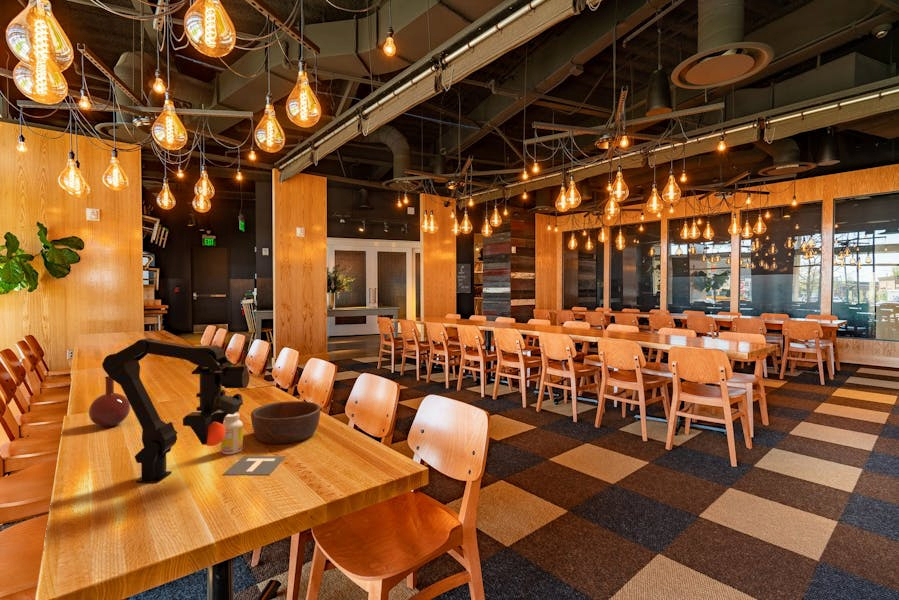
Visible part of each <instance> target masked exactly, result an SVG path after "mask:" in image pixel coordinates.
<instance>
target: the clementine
mask: <svg viewBox="0 0 899 600" xmlns="http://www.w3.org/2000/svg"><path fill="white" fill-rule="evenodd" d="M225 433H226V431H225V428H224V426H223V425H222V424H221V423H219V422H213V423H212V424H211V425H210V426H209V429H208V438H207V444H206V445H205V446H206V447H207V446H208V447H214V446H217V445H219V444H220V443H221V441H222V440H223V439H224V437H225Z"/></svg>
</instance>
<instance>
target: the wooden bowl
mask: <svg viewBox="0 0 899 600" xmlns="http://www.w3.org/2000/svg"><path fill="white" fill-rule="evenodd" d="M321 410H322V409H321V406H320V405H319V404H318V403H315V402H311V401H310V402H309V401H305V400H303V401H301V400H300V401H299V400H293V401H291V400H289V401H279V402H278V401H277V402H273V403H268V404H265V405H261V406H258V407H257V408H255V409H253V410H252V411H251V412H250V420H251V425H252V430H253V433H254V435H255V437H256V439H257V440H259V441H260V442H262V443H263V444H268V445H269V444H270V445H287V444H293V443H295V444H296V443H299V442H301V441H304V440H307V439H309V438H311V437H312V436H313V435H314V434H315V432H316V431H317V429H318V425H319V423H320V417H321V412H322V411H321ZM310 436H311V437H310Z"/></svg>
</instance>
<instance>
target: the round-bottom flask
mask: <svg viewBox="0 0 899 600" xmlns="http://www.w3.org/2000/svg"><path fill="white" fill-rule="evenodd" d="M104 379H105V394H102V395H99V396H98V397H96V398H95V399H94V400H93V401H92V402H91V404H90V406H89V409H88V417H89V419H90V420H91V422H92V423H93V424H95V425H97V426H100V427H103V428H104V427H106V428H107V427H109V428H110V427H113V426H117V425H119V424H121V423H122V422H123V421H124V420H126V419H127V417H128V416H129V414H130V411H131V405H130V403H129V401H128V399H127V397H126V395H125V396H124V395H123V394H121V393H118V392H115V387H114V386H115V381H114V380H112V379H111V378H110V377H109V376H108V375H106V376H104Z"/></svg>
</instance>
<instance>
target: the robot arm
mask: <svg viewBox="0 0 899 600" xmlns="http://www.w3.org/2000/svg"><path fill="white" fill-rule="evenodd" d="M149 354H150V355H154V356H155V355H156V356H162V357H168V358H174V359H179V360H185V361H188V362H190V364H193V365H196V368H195V369H194V370H192V371H191V375H199V392H197V393H196V395H195V396H196V398H199V406H197V407H196V411H192V412H191V413H188V414H186V415H185V416H184V417H183V418H182V426H184V427H190V429H192V431H193V432H194V434H195V435H196V437H197V439H198V440H199V442H200V443H201V445H202V446H203V445H204V446H207V445H206V444H207V438H208V429H209V426H210V425H211V424H212V423H213V422H219V423H221V424H222V425H223V423H224V422H225V417H226V416H227V415H228V414H235V413H239V411H240V409H241V406H242V405H243V404H244V400H243V395H242V394H241V393H236V394H234V395H226V391H225V389H247V387H248V386H249V383H250V377H251V376H250V374H249V370H248V369H247V365H246V364H241V365H233V363H232V362H231V361H230V360H229V358H227V357H226V355H225V352H224V350H223V349H222V347H221V346H219V345H218V344H217V345H215V344H213V345H212V344H211V345H207V344H205V345H204V344H203V345H188V344H181V343H178V342H177V343H176V342H171V341H166V340H165V341H164V340H159V339H153V338H152V337H147V338H143V339H139V340H137V341H135V342H133V344H131V345H129V346H127V347H125V348H124V349H121V350H119V351H118V352H116V353H112V354H109V355H106V357H104V359H103V362H102V364H101V366H102V369H103V371H104V372H105V373H106V374H107V376H109V377H110V378H111V379H112V380H114V383H115V382H116V383H117V384H118V385H119V386H120V387H121V389H122V391H123V394H124V395H125V397H126V398H127V399H128V401H129V403H130V408H131V409H132V411H133V413H134V414H135V417H136V418H137V421H138V423H139V425H140V426H141V431H142V432H141V442H142V445H143V448H142V449H141V450H140V451H138V453H136V454H135V456H134V459H135V462H136V463H137V464H140V465H141V468H140V471H141V473H140V474H141V475H140V476H141V477H139V478H138V479H136V480H135V483H159V482H161V481H162V480H164V479H165V478H166V477H168V476H170V475H171V474H172V471H171V470H170V471H169V470H168V471H167V454H168V453H170V452H171V451H172V448H173V447H174V446H175V444H176V442H177V440H178V436H177V434H178V431H177V430H176V429H175V427H174V424H173V422H172V421H170V422H168V423H166V422H165V421H164V420H162V419H161V417H160V415H159V414H158V412H157V409H156V407H155V406H154V403H153V401H152V399H151V398H150V396H149V394H148V392H147V389H146V388H145V386H144V384H143V381H142V379H141V377H140V373H141V366H140V361H141V360H143V359H144V358H145V357H146V356H147V355H149ZM222 387H224V389H222Z"/></svg>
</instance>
